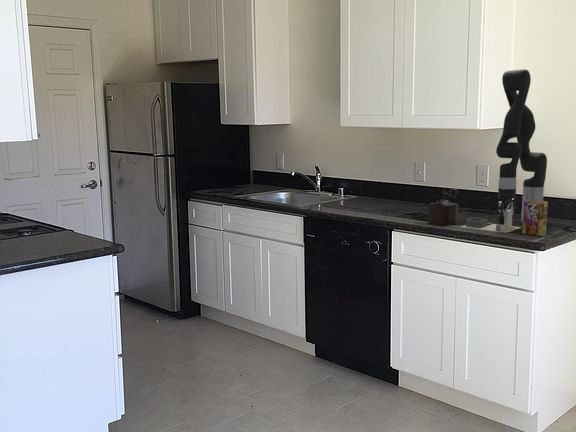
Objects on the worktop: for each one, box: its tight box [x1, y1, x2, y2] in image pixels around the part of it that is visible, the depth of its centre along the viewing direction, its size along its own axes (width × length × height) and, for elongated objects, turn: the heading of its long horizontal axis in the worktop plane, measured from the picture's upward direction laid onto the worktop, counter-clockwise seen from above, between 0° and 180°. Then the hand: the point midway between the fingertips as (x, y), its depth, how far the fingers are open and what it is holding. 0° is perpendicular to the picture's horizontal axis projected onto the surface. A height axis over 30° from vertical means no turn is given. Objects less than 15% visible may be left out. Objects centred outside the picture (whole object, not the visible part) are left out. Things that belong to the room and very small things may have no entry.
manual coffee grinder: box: [427, 187, 460, 226], centre depth 308 cm, size 16×11×18 cm
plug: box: [498, 210, 513, 229], centre depth 292 cm, size 4×5×8 cm
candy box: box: [522, 200, 549, 239], centre depth 277 cm, size 9×4×15 cm, turn 47°
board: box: [460, 217, 523, 234], centre depth 295 cm, size 16×22×4 cm
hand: (505, 223), depth 292 cm, fingers open, 8 cm apart
